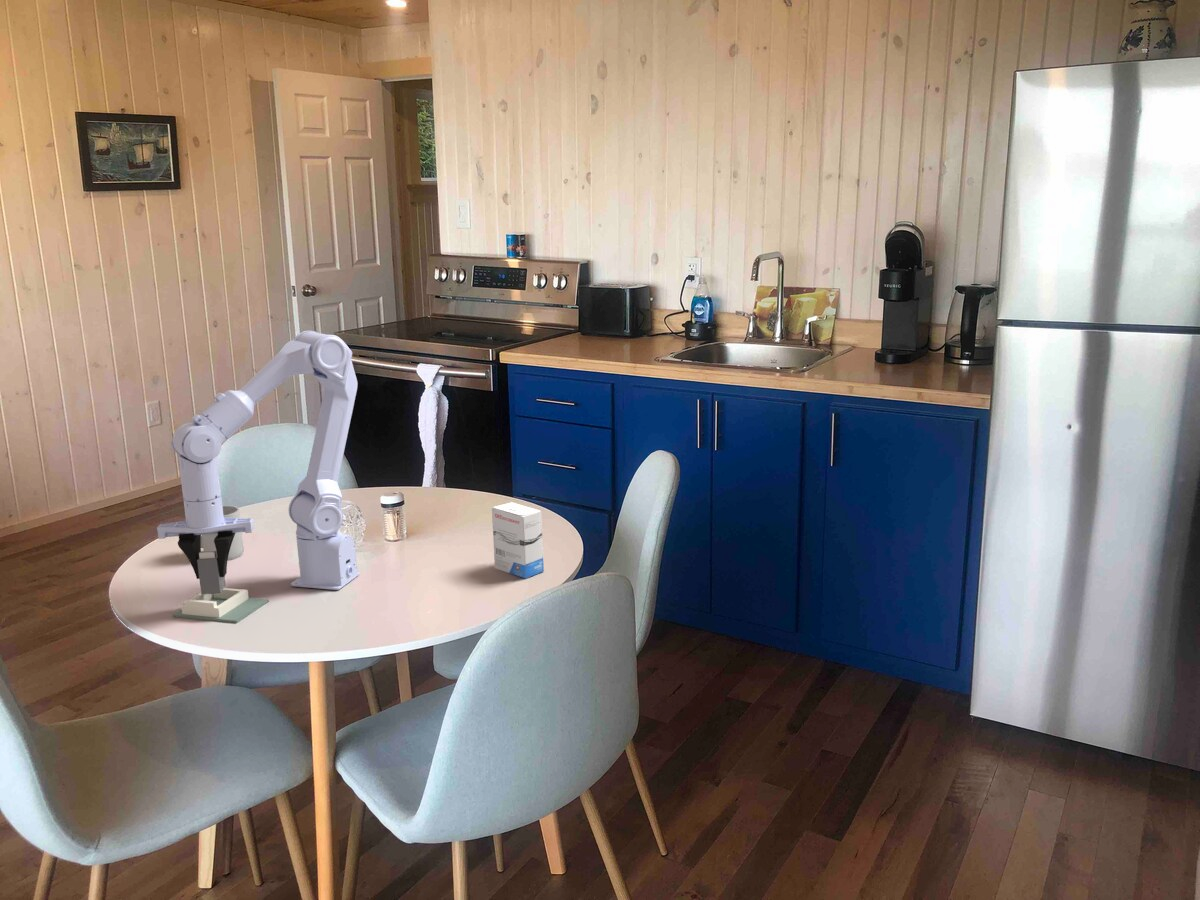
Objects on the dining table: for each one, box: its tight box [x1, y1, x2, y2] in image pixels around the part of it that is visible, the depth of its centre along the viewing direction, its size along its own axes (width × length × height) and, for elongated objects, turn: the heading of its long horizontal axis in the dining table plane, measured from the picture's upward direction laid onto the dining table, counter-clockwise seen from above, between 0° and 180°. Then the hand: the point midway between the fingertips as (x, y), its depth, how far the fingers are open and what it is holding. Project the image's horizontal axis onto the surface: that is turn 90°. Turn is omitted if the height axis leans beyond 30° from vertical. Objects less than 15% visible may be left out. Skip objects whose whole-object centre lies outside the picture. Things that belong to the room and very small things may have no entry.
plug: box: [197, 550, 226, 595], centre depth 160 cm, size 3×4×7 cm
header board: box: [171, 587, 269, 624], centre depth 161 cm, size 12×9×3 cm
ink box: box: [491, 501, 545, 579], centre depth 175 cm, size 8×5×12 cm, turn 47°
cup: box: [200, 505, 245, 561], centre depth 186 cm, size 7×10×9 cm
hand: (211, 575), depth 160 cm, fingers closed on plug, 3 cm apart
